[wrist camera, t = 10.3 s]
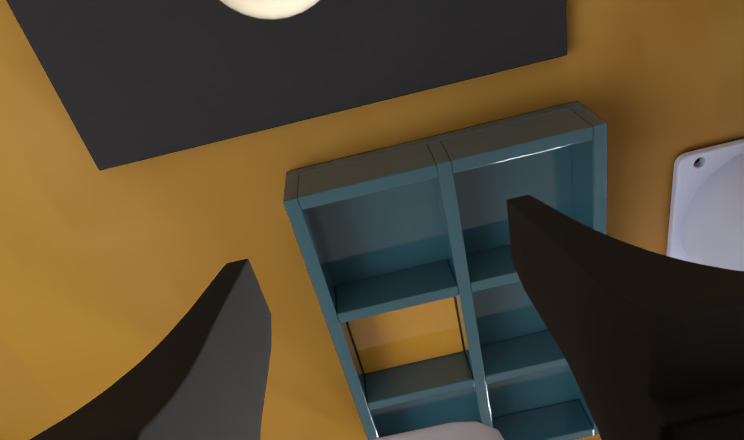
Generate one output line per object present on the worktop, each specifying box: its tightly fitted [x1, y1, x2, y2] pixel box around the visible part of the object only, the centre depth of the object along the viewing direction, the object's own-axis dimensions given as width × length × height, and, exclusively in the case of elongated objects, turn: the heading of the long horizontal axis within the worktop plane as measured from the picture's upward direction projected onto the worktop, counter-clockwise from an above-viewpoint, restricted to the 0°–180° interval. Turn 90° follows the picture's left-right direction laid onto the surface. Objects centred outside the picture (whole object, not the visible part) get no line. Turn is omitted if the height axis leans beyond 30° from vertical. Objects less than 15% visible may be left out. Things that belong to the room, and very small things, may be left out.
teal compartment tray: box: [283, 101, 607, 440], centre depth 27 cm, size 13×20×3 cm
